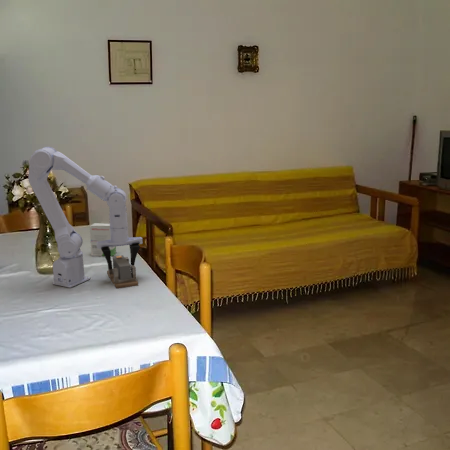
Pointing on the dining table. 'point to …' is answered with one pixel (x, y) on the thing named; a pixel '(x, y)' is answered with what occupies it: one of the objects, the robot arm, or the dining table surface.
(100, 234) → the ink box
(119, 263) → the grey rectangular block
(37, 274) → the dining table surface
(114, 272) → the cradle
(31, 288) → the dining table surface
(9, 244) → the dining table surface
